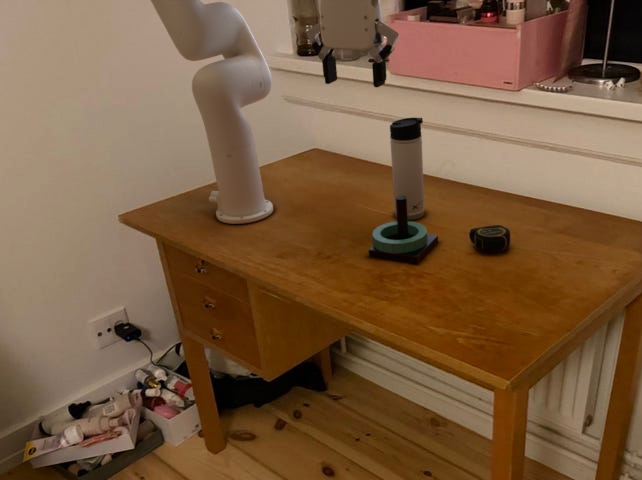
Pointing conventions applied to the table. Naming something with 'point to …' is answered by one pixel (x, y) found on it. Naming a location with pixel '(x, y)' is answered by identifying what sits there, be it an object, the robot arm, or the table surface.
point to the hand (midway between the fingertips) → (355, 83)
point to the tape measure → (490, 238)
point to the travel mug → (408, 164)
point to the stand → (403, 234)
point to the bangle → (399, 245)
